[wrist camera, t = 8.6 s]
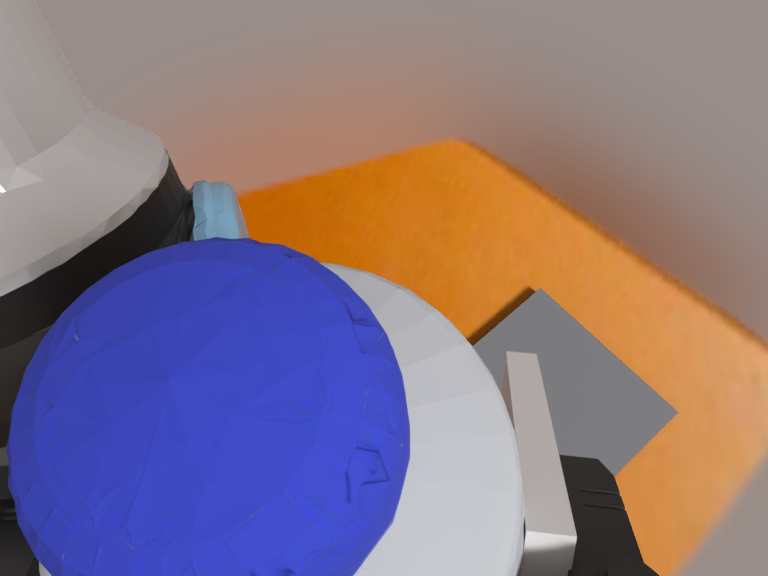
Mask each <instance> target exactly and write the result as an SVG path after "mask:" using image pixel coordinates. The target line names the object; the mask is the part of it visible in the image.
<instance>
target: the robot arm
mask: <svg viewBox="0 0 768 576" xmlns="http://www.w3.org/2000/svg"><path fill="white" fill-rule="evenodd" d="M213 237H221V238H228V239H239V238H249V234H248V230H247V226H246V223H245V220H244V217H243V213H242V211H241V209H240V206H239V203H238V199H237V194H236V192H235V190H234V189H233V188H232V187H231V186H230V185H229V184H227V183H224V182H215V183H209V182H207V181H205V180H201V181H198V182H195V183H194V184H193V187H192V188H191V189H190V190H187V189H186V188H185V187H184V185H183V184H182V183H181V181H180V179H179V176H178V174H177V172H176V170H175V168H174V166H173V164H172V161H171V159H170V157H169V155H168V152H167V150H166V148H165V147H164V145H163V144H162V142H161V140H160V139H159V137H158V136H157V135H156V134H154V133H152V132H150V131H148V130H146V129H143V128H141V127H139V126H136V125H134V124H132V123H129V122H127V121H124V120H122V119H119V118H117V117H114V116H112V115H110V114H108V113H105V112H102V111H100V110H99V109H97V108H96V107H95V106H93V105H92V104H91V103H90V102H89V101H88V100H87V99H86V98H85V96H84V94H83V92H82V90H81V88H80V86H79V84H78V82H77V80H76V78H75V77H74V75H73V73H72V71H71V69H70V67H69V65H68V63H67V61H66V59H65V57H64V55H63V53H62V51H61V49H60V47H59V45H58V43H57V41H56V39H55V38H54V35H53V34H52V32H51V30H50V28H49V26H48V24H47V22H46V20H45V18H44V16H43V14H42V12H41V10H40V8H39V6H38V4H37V2H36V0H0V576H40V572H39V561H38V560H37V559H36V557H35V555H34V553H33V551H32V550H31V548H30V546H29V544H28V542H27V540H26V538H25V536H24V535H23V533H22V531H21V529H20V527H19V525H18V522H17V515H16V507H15V501H14V499H13V497H12V494H11V492H10V490H9V488H8V475H9V462H8V457H7V452H6V446H7V442H8V438H9V432H10V425H11V411H12V408H13V405H14V403H15V401H16V398H17V395H18V392H19V389H20V386H21V383H22V380H23V375H24V372H25V370H26V369H27V367H28V365H29V363H30V361H31V359H32V358H33V356H34V354H35V352H36V350H37V348H38V346H39V344H40V342H41V340H42V339H43V338H44V336H45V335H46V334H47V333H48V331H49V330H50V329H51V327H52V326H53V325H54V323H55V322H56V321H57V319H58V318H59V317H60V315H61V314H62V313H63V312H64V311H65V310H66V309H67V308H68V307H69V306H70V305H71V304H72V303H73V302H74V301H75V300H76V299H77V298H78V297H79V296H80V295H81V294H82V293H83V292H84V291H85V290H87V289H88V288H89V287H90V286H92V285H93V284H95V283H96V282H97V281H99V280H100V279H102V278H103V277H105V276H106V275H107V274H109V273H110V272H112V271H113V270H114V269H116V268H118V267H120V266H122V265H124V264H126V263H128V262H130V261H132V260H134V259H136V258H138V257H140V256H142V255H144V254H147V253H149V252H151V251H155V250H158V249H162V248H165V247H169V246H172V245H175V244H178V243H181V242H184V241H196V240H203V239H209V238H213ZM501 395H502V397H503V400H504V402H505V405H506V408H507V411H508V414H509V417H510V420H511V422H512V425H513V428H514V431H515V438H516V444H517V450H518V456H519V462H520V469H521V475H522V487H523V492H524V503H525V526H524V551H523V561H522V566H521V570H520V574H519V576H659V575H658V574H657V573H656V572H655V571H653V570H652V569H651V568H650V567H648V566H647V565H646V564H644V562H643V559H642V556H641V553H640V550H639V547H638V544H637V542H636V539H635V536H634V533H633V530H632V527H631V524H630V521H629V518H628V515H627V513H626V511H625V507H624V504H623V501H622V498H621V496H620V492H619V489H618V487H617V484H616V481H615V478H614V475H613V474H612V473H611V472H610V471H609V470H608V469H607V468H606V467H605V466H604V465H603V464H602V463H601V461H600V460H599V459H595V458H586V457H577V456H567V455H559V453H558V448H557V444H556V439H555V435H554V430H553V426H552V421H551V417H550V412H549V408H548V403H547V398H546V394H545V389H544V385H543V380H542V376H541V371H540V367H539V362H538V358H537V354H533V353H522V352H510V351H506V355H505V365H504V374H503V383H502V392H501Z"/></svg>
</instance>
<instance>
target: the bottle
mask: <svg viewBox="0 0 768 576" xmlns="http://www.w3.org/2000/svg"><path fill="white" fill-rule="evenodd" d="M6 452H7V457H8V462H9V475H8V488H9V490H10V492H11V494H12V497H13V499H14V501H15V507H16V515H17V522H18V525H19V527H20V529H21V531H22V533H23V535H24V536H25V538H26V540H27V542H28V544H29V546H30V548H31V550H32V551H33V553H34V555H35V557H36V559H37V560H38V561H39V572H40V576H519V574H520V570H521V566H522V561H523V551H524V526H525V503H524V492H523V487H522V475H521V469H520V462H519V456H518V450H517V444H516V438H515V431H514V428H513V425H512V422H511V420H510V417H509V414H508V411H507V408H506V405H505V402H504V400H503V397H502V395H501V393H500V391H499V388H498V386H497V384H496V382H495V380H494V378H493V376H492V374H491V373H490V371H489V370H488V368H487V367H486V365H485V364H484V363H483V361H482V360H481V358H480V357H479V355H478V354H477V352H476V351H475V349H474V348H473V346H472V345H471V344H470V343H469V342H468V341H467V340H466V338H465V337H464V336H463V335H462V334H461V333H460V331H459V330H458V329H457V328H456V327H455V326H454V325H453V323H452V322H451V321H449V320H448V319H447V318H446V317H445V316H444V315H442V314H441V313H440V312H439V311H438V310H436V309H435V308H433V307H432V306H431V305H429V304H428V303H427V302H425V301H424V300H423V299H421V298H420V297H418V296H417V295H416V294H414V293H413V292H412V291H410V290H409V289H407V288H405V287H402V286H400V285H398V284H395V283H393V282H391V281H389V280H386V279H384V278H382V277H379V276H377V275H375V274H373V273H370V272H367V271H362V270H358V269H354V268H349V267H345V266H341V265H336V264H332V263H319V262H318V261H316V260H315V259H313V258H312V257H310V256H307V255H305V254H303V253H300V252H298V251H295V250H293V249H291V248H288V247H286V246H284V245H280V244H270V243H260V242H257V241H255V240H252V239H250V238H239V239H228V238H221V237H213V238H209V239H203V240H196V241H184V242H181V243H178V244H175V245H172V246H169V247H165V248H162V249H158V250H155V251H151V252H149V253H147V254H144V255H142V256H140V257H138V258H136V259H134V260H132V261H130V262H128V263H126V264H124V265H122V266H120V267H118V268H116V269H114V270H113V271H112V272H110V273H109V274H107V275H106V276H105V277H103V278H102V279H100V280H99V281H97V282H96V283H95V284H93V285H92V286H90V287H89V288H88V289H87V290H85V291H84V292H83V293H82V294H81V295H80V296H79V297H78V298H77V299H76V300H75V301H74V302H73V303H72V304H71V305H70V306H69V307H68V308H67V309H66V310H65V311H64V312H63V313H62V314H61V315H60V317H59V318H58V319H57V321H56V322H55V323H54V325H53V326H52V327H51V329H50V330H49V331H48V333H47V334H46V335H45V336H44V338H43V339H42V340H41V342H40V344H39V346H38V348H37V350H36V352H35V354H34V356H33V358H32V359H31V361H30V363H29V365H28V367H27V369H26V370H25V372H24V375H23V380H22V383H21V386H20V389H19V392H18V395H17V398H16V401H15V403H14V405H13V408H12V411H11V425H10V432H9V438H8V442H7V446H6Z"/></svg>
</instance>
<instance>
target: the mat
mask: <svg viewBox="0 0 768 576" xmlns="http://www.w3.org/2000/svg"><path fill="white" fill-rule="evenodd" d="M473 348H474V349H475V351H476V352H477V354H478V355H479V357H480V358H481V360H482V361H483V363H484V364H485V365H486V367H487V368H488V370H489V371H490V373H491V374H492V376H493V378H494V380H495V382H496V384H497V386H498V388H499V391H500V393H501V392H502V383H503V374H504V365H505V355H506V351H510V352H522V353H533V354H537V358H538V362H539V367H540V371H541V376H542V380H543V385H544V389H545V394H546V398H547V403H548V408H549V412H550V417H551V421H552V426H553V430H554V435H555V439H556V444H557V448H558V453H559V455H567V456H577V457H586V458H595V459H599V460H600V461H601V463H602V464H603V465H604V466H605V467H606V468H607V469H608V470H609V471H610V472H611V473H612V474H613V475H614V476H615V475H616V474H617V473H618V472H619V471H620V470H621V469H622V468H623V467H624V466H625V465H626V464H627V463H628V462H629V461H630V460H631V459H632V458H633V457H634V456H635V455H636V454H637V453H638V452H639V451H640V450H641V449H642V448H643V447H644V446H645V445H646V444H647V443H648V442H649V441H650V440H651V439H652V438H653V437H654V436H655V435H656V434H657V433H658V432H659V431H660V430H661V429H662V428H663V427H664V426H665V425H666V424H667V423H668V422H669V421H670V420H671V419H672V418H673V417H674V416H675V415H676V414H677V413H678V412H677V411H676V410H675V409H674V408H673V407H672V406H671V405H669V404H668V403H667V402H666V401H665V400H664V399H663V398H662V397H661V396H659V395H658V394H657V393H656V392H655V391H654V390H653V389H652V388H651V387H650V386H648V385H647V384H646V383H645V382H644V381H643V380H642V379H641V378H640V377H638V376H637V375H636V374H635V373H634V372H633V371H632V370H631V369H630V368H628V367H627V366H626V365H625V364H624V363H623V362H622V361H621V360H620V359H618V358H617V357H616V356H615V355H614V354H613V353H612V352H611V351H610V350H608V349H607V348H606V347H605V346H604V345H603V344H602V343H601V342H600V341H599V340H597V339H596V338H595V337H594V336H593V335H592V334H591V333H590V332H589V331H587V330H586V329H585V328H584V327H583V326H582V325H581V324H580V323H579V322H577V321H576V320H575V319H574V318H573V317H572V316H571V315H570V314H569V313H567V312H566V311H565V310H564V309H563V308H562V307H561V306H560V305H559V304H557V303H556V302H555V301H554V300H553V299H552V298H551V297H550V296H549V295H548V294H546V293H545V292H544V291H543V290H542V289H541V288H540V289H539V290H537V291H536V292H535V293H534V294H533V295H532V296H530V297H529V298H528V299H527V300H526V301H525V302H523V303H522V304H521V305H520V306H519V307H518V308H517V309H515V310H514V311H513V312H512V313H511V314H510V315H508V316H507V317H506V318H505V319H504V320H503V321H501V322H500V323H499V324H498V325H497V326H496V327H494V328H493V329H492V330H491V331H490V332H489V333H487V334H486V335H485V336H484V337H483V338H482V339H480V340H479V341H478V342H477V343H476V344H475V345H473Z"/></svg>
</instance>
